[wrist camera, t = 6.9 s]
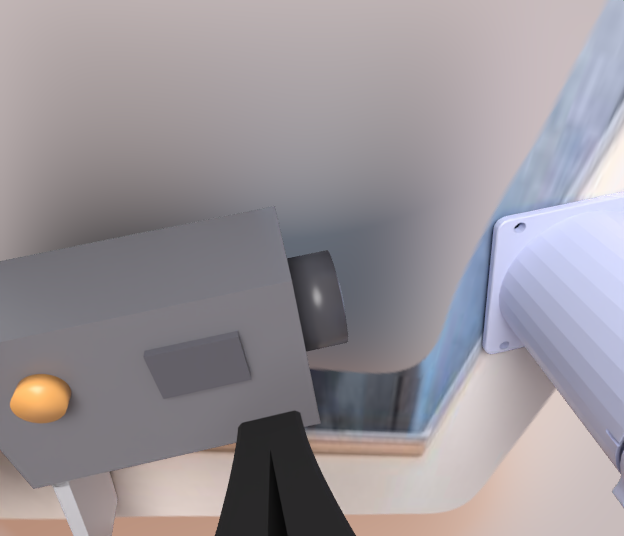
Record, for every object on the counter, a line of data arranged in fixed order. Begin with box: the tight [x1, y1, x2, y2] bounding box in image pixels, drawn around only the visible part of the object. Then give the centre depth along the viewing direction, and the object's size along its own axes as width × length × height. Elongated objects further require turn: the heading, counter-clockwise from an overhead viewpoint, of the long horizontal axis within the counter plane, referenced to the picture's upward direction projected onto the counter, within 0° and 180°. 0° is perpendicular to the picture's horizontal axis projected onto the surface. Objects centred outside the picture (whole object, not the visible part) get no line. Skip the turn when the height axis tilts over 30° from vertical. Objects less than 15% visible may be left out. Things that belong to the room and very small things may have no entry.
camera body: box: [0, 206, 348, 489], centre depth 18 cm, size 13×7×6 cm, turn 98°
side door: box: [51, 472, 118, 536], centre depth 23 cm, size 8×1×4 cm, turn 177°
